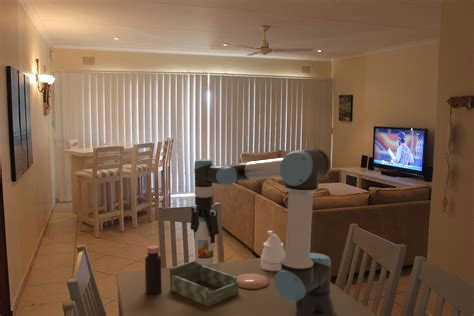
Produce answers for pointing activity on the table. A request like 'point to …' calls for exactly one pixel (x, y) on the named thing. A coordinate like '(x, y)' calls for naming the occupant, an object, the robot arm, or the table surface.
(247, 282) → the pink round disc
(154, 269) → the vinegar
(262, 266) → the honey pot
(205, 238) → the milk bottle
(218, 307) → the table surface
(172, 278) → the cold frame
